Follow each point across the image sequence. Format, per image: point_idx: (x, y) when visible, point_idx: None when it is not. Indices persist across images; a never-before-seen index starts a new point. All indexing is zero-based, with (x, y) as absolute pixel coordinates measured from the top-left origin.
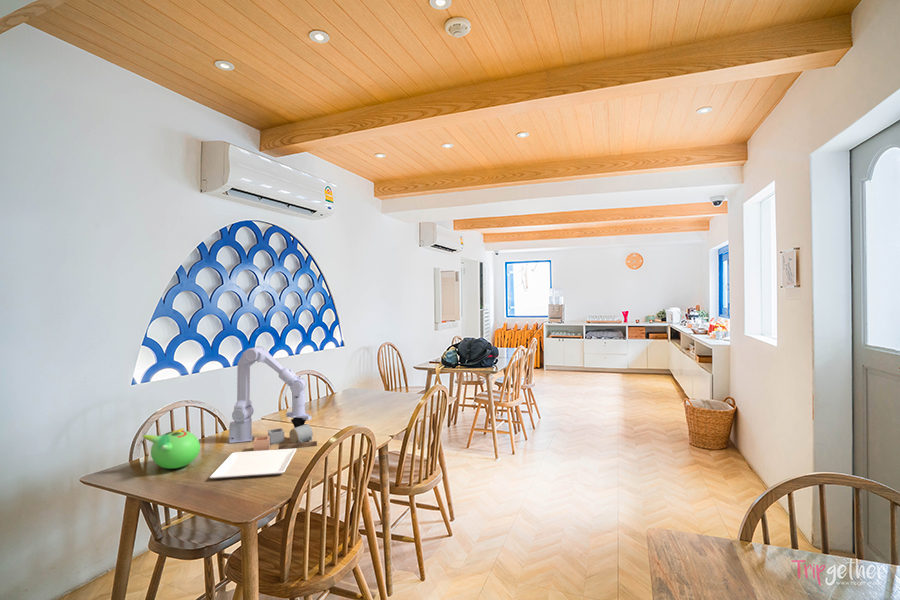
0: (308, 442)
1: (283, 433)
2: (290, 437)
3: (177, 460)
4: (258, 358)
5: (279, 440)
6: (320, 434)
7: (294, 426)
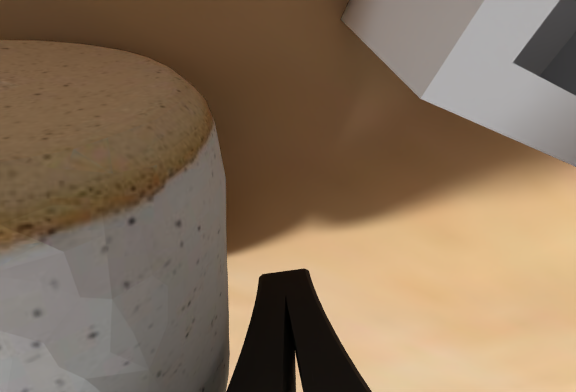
0: None
1: (406, 52)
2: (136, 78)
3: None
4: None
5: None
6: None
7: (350, 388)
